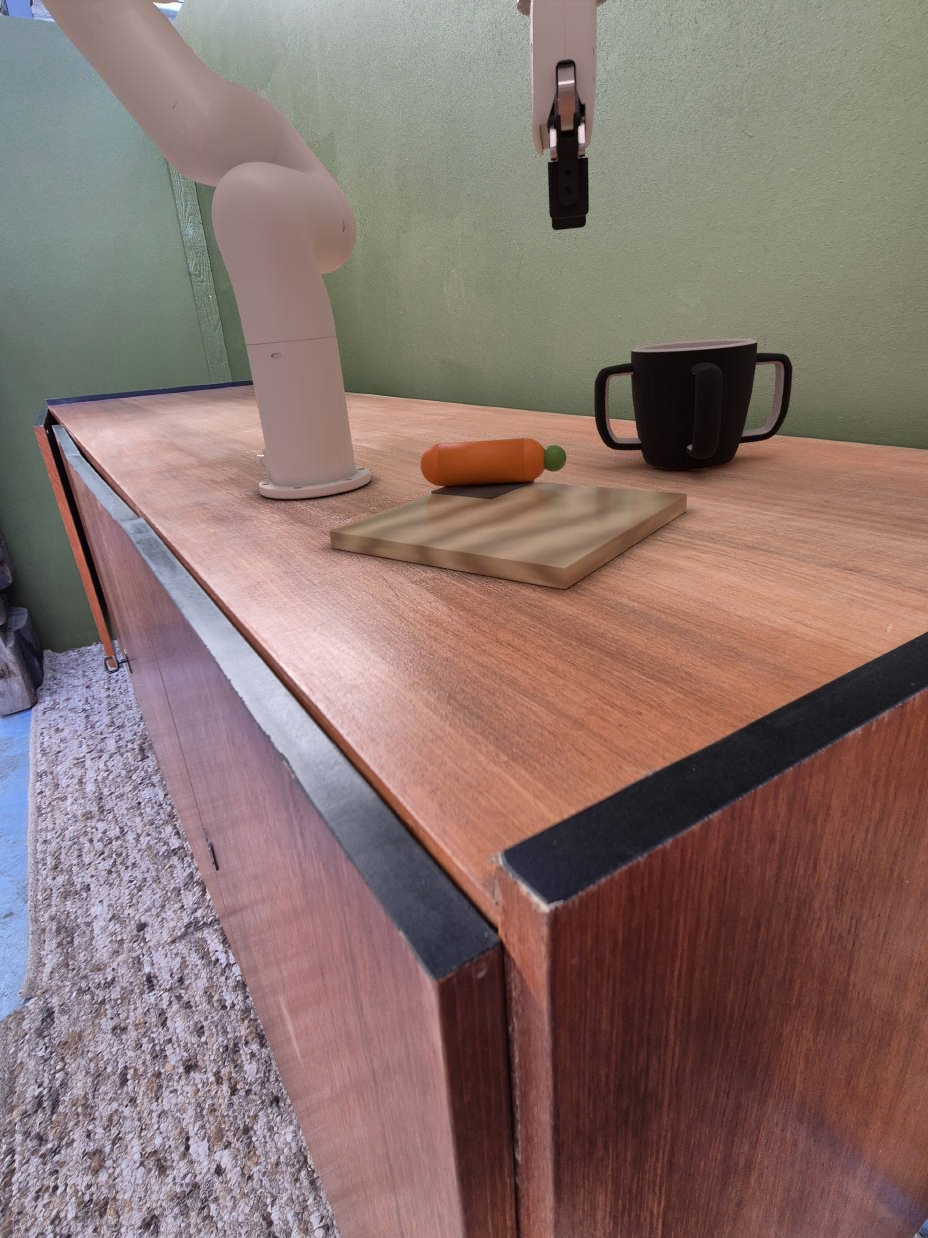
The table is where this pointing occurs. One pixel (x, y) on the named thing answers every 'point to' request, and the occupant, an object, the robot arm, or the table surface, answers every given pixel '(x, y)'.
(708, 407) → the mug
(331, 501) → the table surface
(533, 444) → the carrot
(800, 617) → the table surface
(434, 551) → the chopping board
